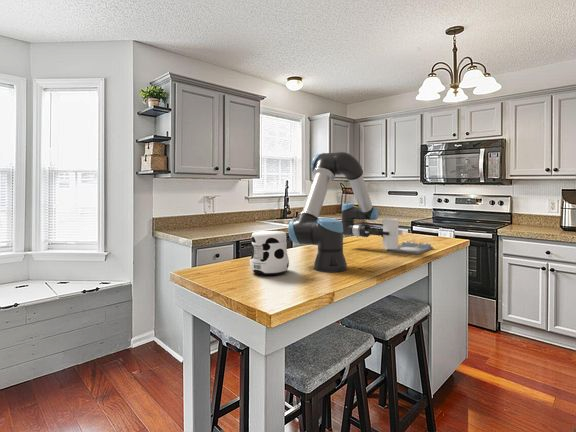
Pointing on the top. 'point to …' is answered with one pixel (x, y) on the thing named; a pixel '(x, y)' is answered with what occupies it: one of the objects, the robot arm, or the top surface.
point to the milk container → (269, 252)
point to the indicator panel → (412, 248)
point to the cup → (390, 241)
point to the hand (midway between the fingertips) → (398, 233)
